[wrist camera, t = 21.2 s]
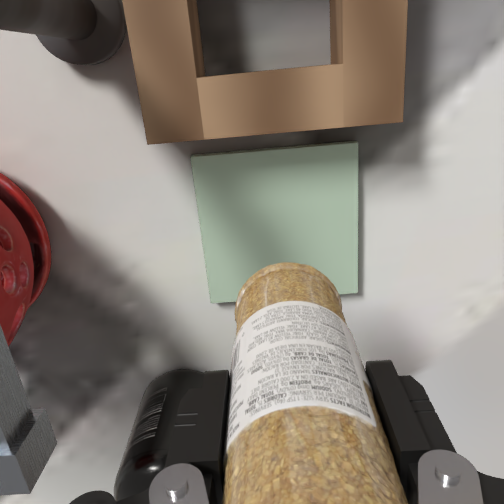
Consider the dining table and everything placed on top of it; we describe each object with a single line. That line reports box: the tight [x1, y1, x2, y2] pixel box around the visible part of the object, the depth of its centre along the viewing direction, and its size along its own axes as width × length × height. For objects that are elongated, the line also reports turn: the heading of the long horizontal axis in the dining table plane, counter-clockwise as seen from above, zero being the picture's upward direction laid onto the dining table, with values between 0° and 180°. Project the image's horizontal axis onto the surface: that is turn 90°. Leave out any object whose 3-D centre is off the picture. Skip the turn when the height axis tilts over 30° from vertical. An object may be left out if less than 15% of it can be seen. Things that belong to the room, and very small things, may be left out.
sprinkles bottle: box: [222, 262, 409, 504], centre depth 13 cm, size 5×5×14 cm
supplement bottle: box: [114, 369, 205, 501], centre depth 29 cm, size 7×7×12 cm
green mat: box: [190, 141, 358, 303], centre depth 29 cm, size 10×10×1 cm
